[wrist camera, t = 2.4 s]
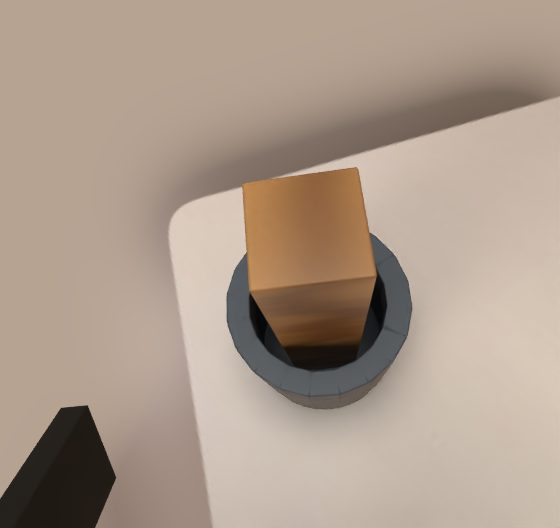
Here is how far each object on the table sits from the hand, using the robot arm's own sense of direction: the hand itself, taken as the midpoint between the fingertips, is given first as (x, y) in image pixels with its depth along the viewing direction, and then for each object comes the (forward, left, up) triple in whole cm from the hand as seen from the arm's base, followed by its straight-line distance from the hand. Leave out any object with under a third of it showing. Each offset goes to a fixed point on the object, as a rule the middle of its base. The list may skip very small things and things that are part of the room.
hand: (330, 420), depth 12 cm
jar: (-6, +2, -19) cm, 20 cm away
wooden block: (-6, +2, -18) cm, 19 cm away
